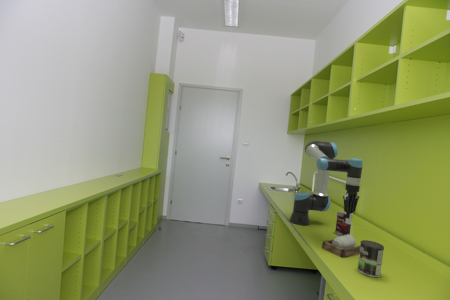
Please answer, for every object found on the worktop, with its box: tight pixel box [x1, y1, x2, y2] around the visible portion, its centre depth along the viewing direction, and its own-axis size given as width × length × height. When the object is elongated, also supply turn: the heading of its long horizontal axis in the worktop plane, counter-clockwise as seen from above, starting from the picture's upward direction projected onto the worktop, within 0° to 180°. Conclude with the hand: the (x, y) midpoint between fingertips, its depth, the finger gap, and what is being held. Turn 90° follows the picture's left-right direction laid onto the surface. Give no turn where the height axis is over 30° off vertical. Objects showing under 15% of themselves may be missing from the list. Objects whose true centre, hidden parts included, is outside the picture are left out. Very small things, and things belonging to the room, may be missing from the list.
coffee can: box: [357, 239, 385, 278], centre depth 133 cm, size 10×10×14 cm
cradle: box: [321, 239, 360, 259], centre depth 159 cm, size 14×20×4 cm
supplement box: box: [334, 211, 353, 237], centre depth 188 cm, size 9×5×16 cm, turn 40°
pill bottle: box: [332, 234, 357, 249], centre depth 161 cm, size 8×8×15 cm
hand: (348, 223), depth 160 cm, fingers closed
